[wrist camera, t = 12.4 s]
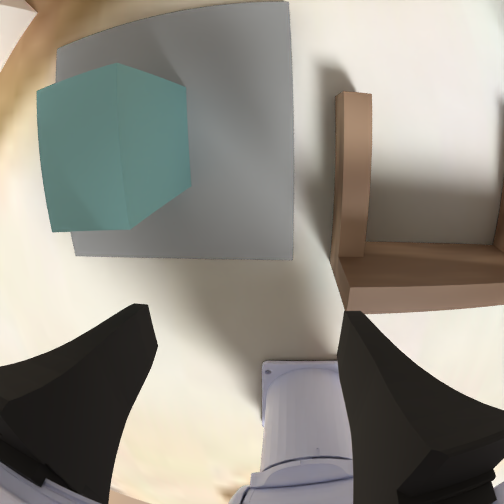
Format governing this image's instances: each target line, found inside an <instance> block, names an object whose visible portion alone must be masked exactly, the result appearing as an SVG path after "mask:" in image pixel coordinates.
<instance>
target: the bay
mask: <svg viewBox="0 0 504 504" xmlns="http://www.w3.org/2000/svg"><path fill="white" fill-rule="evenodd" d="M335 115H336V147H335V188H334V210H333V227H332V242H331V255H330V264H331V267H332V270H333V273H334V277H335V280H336V283H337V286H338V289H339V292H340V296H341V299H342V302H343V305H344V309H345V311H362V312H363V313H364V314H382V313H405V312H424V311H439V310H452V309H464V308H476V307H486V306H495V305H504V181H503V190H502V197H501V204H500V210H499V216H498V222H497V227H496V232H495V237H494V242H493V245H482V244H450V243H413V242H368V241H365V239H366V230H367V219H368V208H369V194H370V178H371V155H372V94H368V93H358V92H347V91H343V92H341V93H340V94H338V95H336V96H335Z"/></svg>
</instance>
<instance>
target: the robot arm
mask: <svg viewBox="0 0 504 504" xmlns="http://www.w3.org/2000/svg"><path fill="white" fill-rule="evenodd" d="M157 348H158V344H157V340H156V336H155V333H154V329H153V324H152V320H151V316H150V312H149V307H148V305H146V304H132V305H130V306H128V307H126V308H125V309H123V310H121V311H120V312H118V313H117V314H115V315H113V316H112V317H110V318H109V319H107V320H105V321H104V322H102V323H101V324H99V325H97V326H96V327H94V328H93V329H91V330H89V331H88V332H86V333H84V334H82V335H81V336H79V337H77V338H75V339H74V340H72V341H70V342H68V343H66V344H64V345H62V346H60V347H58V348H56V349H54V350H51V351H49V352H47V353H44V354H41V355H39V356H36V357H33V358H30V359H28V360H25V361H21V362H18V363H14V364H10V365H6V366H1V367H0V504H108V501H109V492H110V485H111V478H112V473H113V468H114V463H115V458H116V454H117V450H118V447H119V443H120V439H121V436H122V433H123V430H124V426H125V423H126V420H127V418H128V415H129V413H130V410H131V408H132V406H133V404H134V402H135V400H136V398H137V396H138V394H139V392H140V390H141V388H142V386H143V384H144V382H145V380H146V377H147V375H148V373H149V371H150V369H151V367H152V364H153V361H154V358H155V354H156V351H157ZM266 370H270V371H266ZM262 426H263V427H264V433H263V445H262V455H261V466H260V472H256V473H252V474H251V481H250V485H244V486H242V487H240V488H239V489H238V490H237V492H236V493H235V494H234V495H233V496H232V498H231V499H230V501H229V504H504V482H502V483H501V484H499V485H497V486H496V487H494V488H493V486H492V482H491V481H493V480H494V479H495V477H496V475H495V472H494V470H493V468H494V467H495V466H496V465H497V464H498V463H499V462H500V461H501V460H502V459H503V458H504V410H501V409H498V408H495V407H492V406H489V405H486V404H483V403H481V402H479V401H477V400H474V399H472V398H470V397H468V396H466V395H464V394H462V393H460V392H458V391H456V390H454V389H453V388H451V387H449V386H448V385H446V384H444V383H442V382H441V381H439V380H438V379H436V378H435V377H433V376H432V375H430V374H429V373H428V372H426V371H425V370H423V369H422V368H421V367H419V366H418V365H417V364H416V363H414V362H413V361H412V360H411V359H410V358H408V357H407V356H406V355H405V354H404V353H403V352H401V351H400V350H399V349H398V348H397V347H396V346H395V345H394V344H393V343H392V342H391V341H390V340H389V339H388V338H387V337H386V336H385V335H384V334H383V333H382V332H381V331H380V330H379V329H378V328H377V327H376V326H375V325H374V324H373V323H372V322H371V321H370V320H369V319H368V318H367V316H366V315H365V314H364V313H363V312H362V311H344V317H343V323H342V329H341V335H340V340H339V346H338V351H337V361H265V362H263V364H262Z"/></svg>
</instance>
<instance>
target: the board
mask: <svg viewBox="0 0 504 504" xmlns="http://www.w3.org/2000/svg"><path fill="white" fill-rule="evenodd" d="M114 63H120V64H123V65H126V66H129V67H132V68H135V69H138V70H141V71H144V72H147V73H150V74H153V75H155V76H158V77H161V78H164V79H166V80H169V81H171V82H174V83H177V84H179V85H182V86H184V87H186V101H187V124H188V143H189V159H190V174H191V187H190V188H188V189H187V190H185V191H184V192H182V193H181V194H179V195H178V196H176V197H175V198H173V199H172V200H170V201H169V202H168V203H166V204H165V205H163V206H162V207H161V208H159V209H158V210H156V211H155V212H154V213H152V214H151V215H149V216H148V217H147V218H145V219H144V220H142V221H141V222H140V223H138V224H137V225H136V226H134V227H133V228H132V229H130V230H100V231H72V232H71V237H72V241H73V246H74V250H75V255H76V256H93V257H137V258H188V259H251V260H293V222H294V116H293V77H292V52H291V31H290V14H289V2H250V3H235V4H225V5H215V6H208V7H200V8H194V9H188V10H182V11H177V12H171V13H167V14H162V15H157V16H153V17H149V18H145V19H141V20H137V21H134V22H130V23H126V24H123V25H120V26H116V27H113V28H110V29H107V30H104V31H101V32H98V33H95V34H93V35H90V36H87V37H85V38H82V39H79V40H77V41H74V42H72V43H70V44H67V45H65V46H62V47H60V48H58V49H57V61H56V83H57V82H60V81H62V80H65V79H68V78H70V77H73V76H76V75H79V74H82V73H85V72H88V71H91V70H94V69H97V68H100V67H103V66H107V65H110V64H114Z"/></svg>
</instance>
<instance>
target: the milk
mask: <svg viewBox="0 0 504 504" xmlns="http://www.w3.org/2000/svg"><path fill="white" fill-rule="evenodd" d="M36 14H37V12H36V11H35V10H34V9H33V8H32V7H31V6H30V5H29V4H28V3H27V2H26V1H25V0H0V72H1V70H2V68H3V66H4V64H5V63H6V61H7V59H8V57H9V56H10V54H11V52H12V50H13V49H14V47H15V46H16V44H17V42H18V41H19V39H20V38H21V36H22V35H23V33H24V32H25V30H26V29H27V27H28V26H29V24H30V23H31V21H32V20H33V19H34V17H35V16H36Z"/></svg>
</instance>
